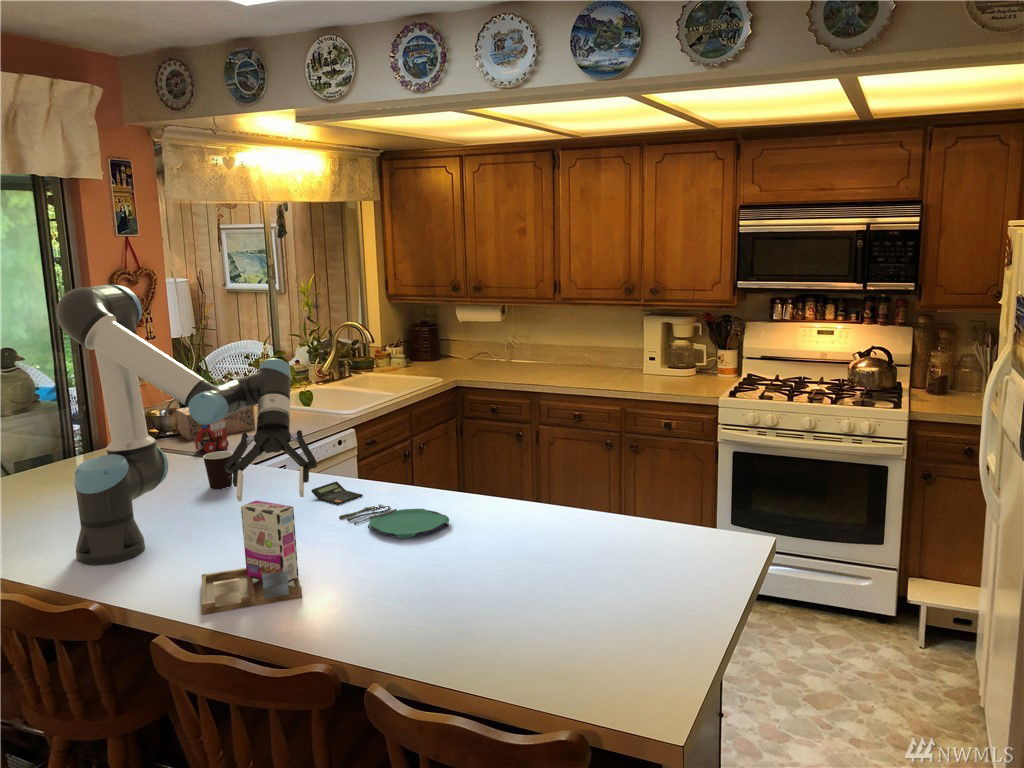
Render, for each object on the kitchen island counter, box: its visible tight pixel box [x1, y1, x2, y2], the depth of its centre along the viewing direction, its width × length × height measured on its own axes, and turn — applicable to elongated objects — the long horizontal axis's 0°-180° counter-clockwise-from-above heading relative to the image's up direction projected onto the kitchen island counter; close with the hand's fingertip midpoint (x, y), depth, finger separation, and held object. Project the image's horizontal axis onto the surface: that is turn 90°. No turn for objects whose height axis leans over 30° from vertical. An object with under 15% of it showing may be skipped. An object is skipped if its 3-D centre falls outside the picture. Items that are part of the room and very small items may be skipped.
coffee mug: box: [202, 450, 234, 490], centre depth 248 cm, size 12×9×10 cm
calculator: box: [311, 481, 363, 506], centre depth 235 cm, size 9×12×3 cm
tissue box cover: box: [175, 405, 256, 441], centre depth 318 cm, size 26×14×10 cm, turn 128°
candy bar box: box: [240, 500, 300, 583], centre depth 174 cm, size 11×5×16 cm, turn 62°
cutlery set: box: [338, 503, 450, 539], centre depth 213 cm, size 20×30×2 cm, turn 48°
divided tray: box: [200, 567, 303, 616], centre depth 174 cm, size 20×16×6 cm
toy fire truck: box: [194, 420, 229, 454], centre depth 290 cm, size 7×12×10 cm, turn 141°
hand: (270, 496), depth 181 cm, fingers open, 13 cm apart
